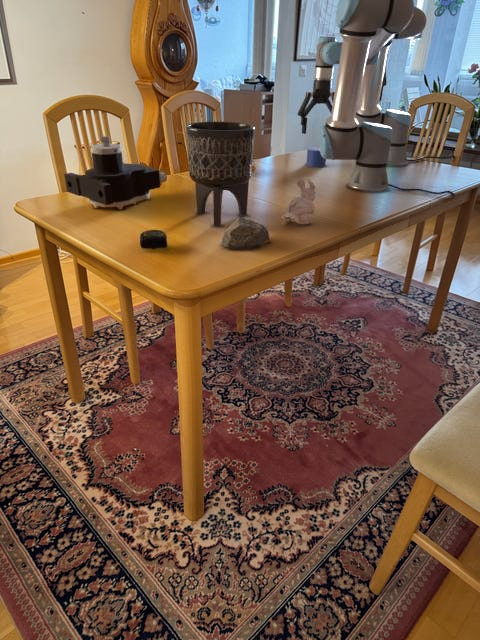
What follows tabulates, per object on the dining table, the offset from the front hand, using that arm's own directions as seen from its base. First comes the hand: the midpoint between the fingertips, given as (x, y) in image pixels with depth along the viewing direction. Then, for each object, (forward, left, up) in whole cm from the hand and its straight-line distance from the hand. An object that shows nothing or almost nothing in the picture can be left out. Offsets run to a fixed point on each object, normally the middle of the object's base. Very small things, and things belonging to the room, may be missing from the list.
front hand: (317, 132), depth 203 cm
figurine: (+10, +84, -15) cm, 86 cm away
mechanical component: (+69, +69, -15) cm, 98 cm away
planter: (+35, +83, -15) cm, 91 cm away
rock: (+25, +105, -15) cm, 109 cm away
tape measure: (+48, +111, -15) cm, 122 cm away
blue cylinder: (-1, -3, -15) cm, 15 cm away
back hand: (-32, -51, +10) cm, 61 cm away
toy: (+32, +19, -15) cm, 40 cm away
